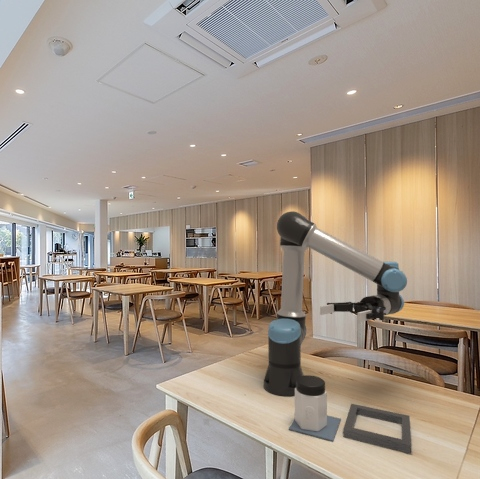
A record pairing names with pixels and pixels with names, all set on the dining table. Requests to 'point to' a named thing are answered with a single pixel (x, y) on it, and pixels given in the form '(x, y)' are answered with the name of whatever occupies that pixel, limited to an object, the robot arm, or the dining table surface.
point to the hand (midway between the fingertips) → (338, 313)
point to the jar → (310, 403)
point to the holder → (375, 438)
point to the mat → (324, 433)
